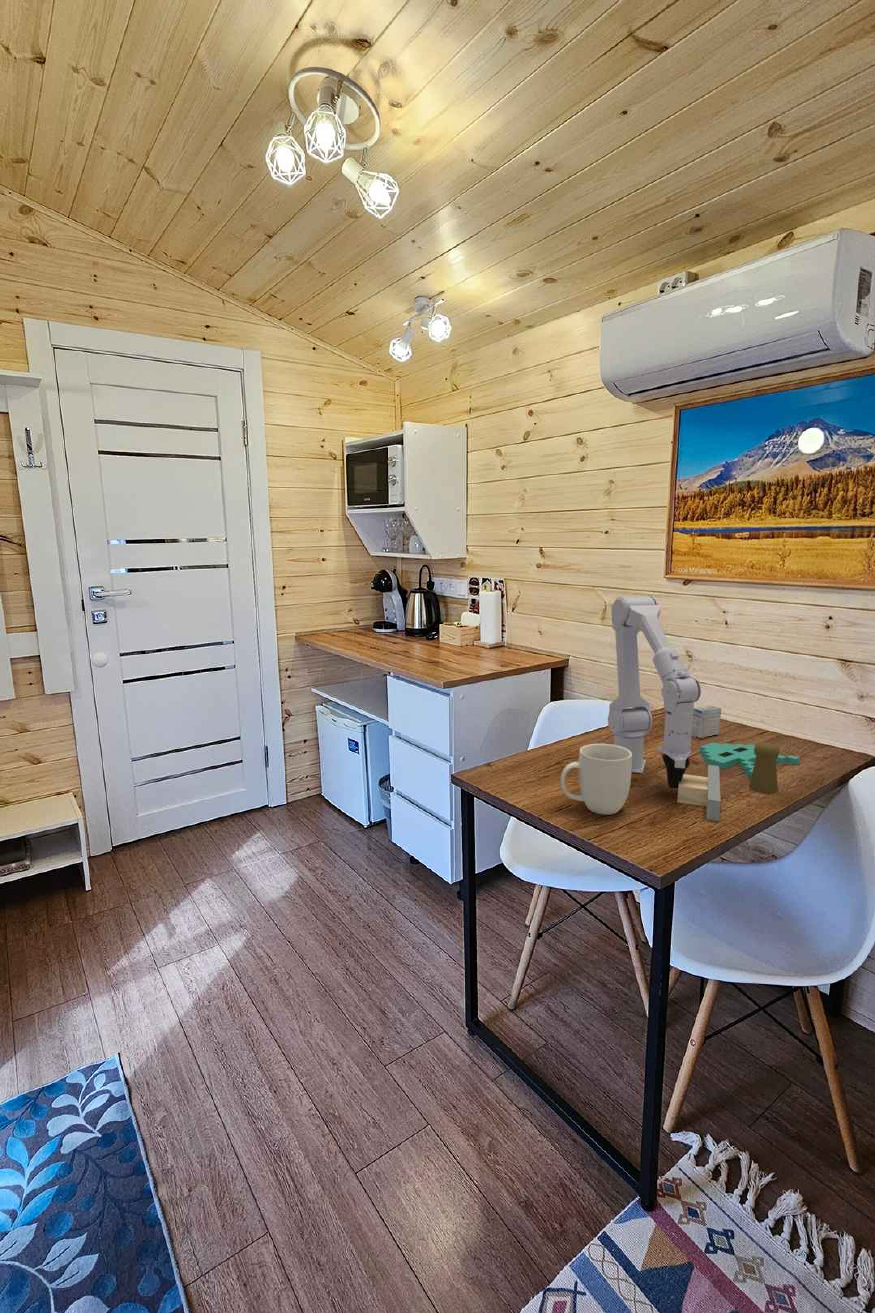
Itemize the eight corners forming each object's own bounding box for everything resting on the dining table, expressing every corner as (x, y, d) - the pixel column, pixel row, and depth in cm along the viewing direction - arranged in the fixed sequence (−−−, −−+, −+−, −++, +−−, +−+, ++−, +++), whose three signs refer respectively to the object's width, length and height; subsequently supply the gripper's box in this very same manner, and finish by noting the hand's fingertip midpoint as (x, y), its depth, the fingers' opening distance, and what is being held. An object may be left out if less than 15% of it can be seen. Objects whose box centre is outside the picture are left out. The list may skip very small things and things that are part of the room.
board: (706, 782, 149) (708, 764, 149) (717, 784, 149) (719, 766, 148) (706, 819, 130) (707, 799, 129) (719, 821, 129) (720, 801, 128)
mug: (565, 819, 130) (566, 760, 128) (555, 798, 141) (557, 743, 139) (636, 819, 130) (639, 760, 128) (621, 798, 141) (623, 743, 139)
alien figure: (799, 765, 162) (727, 745, 178) (799, 757, 161) (728, 738, 178) (756, 782, 151) (684, 759, 167) (756, 773, 150) (684, 751, 167)
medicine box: (707, 731, 190) (709, 704, 188) (719, 735, 186) (721, 707, 184) (688, 735, 186) (690, 707, 185) (700, 739, 182) (702, 711, 181)
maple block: (678, 789, 146) (679, 773, 145) (706, 793, 143) (707, 777, 143) (677, 802, 138) (678, 785, 138) (706, 807, 136) (707, 789, 135)
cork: (744, 783, 149) (748, 739, 147) (771, 784, 148) (775, 739, 146) (754, 793, 143) (758, 747, 141) (782, 794, 142) (786, 748, 140)
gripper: (656, 719, 147) (652, 774, 150) (662, 738, 133) (658, 797, 136) (687, 722, 146) (683, 776, 148) (697, 741, 132) (692, 801, 134)
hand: (673, 787), depth 142 cm, fingers closed, pressing on maple block
